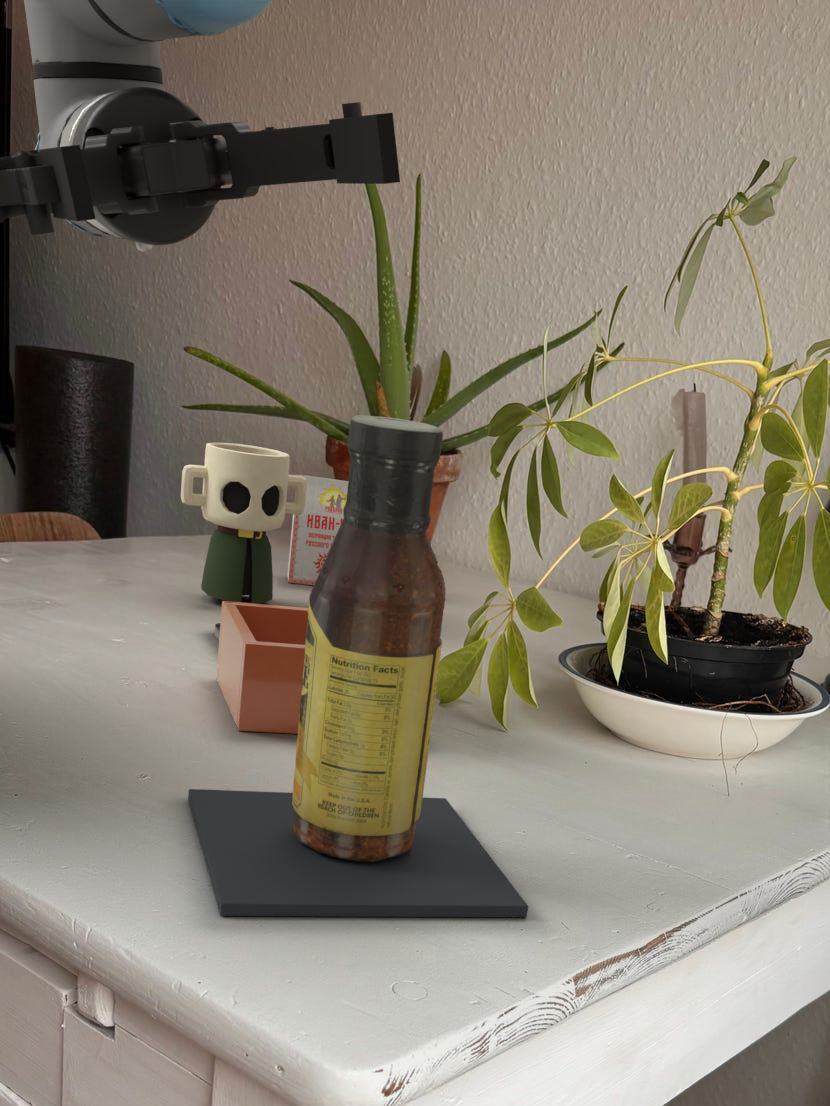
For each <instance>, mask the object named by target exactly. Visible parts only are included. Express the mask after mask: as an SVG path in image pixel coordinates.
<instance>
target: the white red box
mask: <svg viewBox="0 0 830 1106" xmlns="http://www.w3.org/2000/svg"><path fill="white" fill-rule="evenodd" d="M298 475H299V476H303V477H305V478H306V481H307V490H306V500H305V508H304V511H303V513H301V514H298V515H297V514H292V521H291V532H290V542H289V543H290V544H289V554H288V565H287V583H289V584H297V585H306V586H313V587H314V584H315V582H316V580H317V578H318V575H319V573H320V571H321V568H322V566H323V564H324V562H325V559H326V557H327V555H328V552H329V550H330V548H331V546H332V543H333V541H334V539H335V537H336V534H337V532H338V530H339V528H340V525H341V523H342V521H343V519H344V514H343V510H344V507H345V505H346V501H347V492H348V480H342V479H341V480H340V479H335V478H326V477H320V476H312V475H304V474H298Z"/></svg>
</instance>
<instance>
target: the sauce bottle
mask: <svg viewBox="0 0 830 1106" xmlns="http://www.w3.org/2000/svg"><path fill="white" fill-rule="evenodd" d="M443 438H444V431H443V429H442V428H440V427H438V426H435V425H433V424H429V423H426V422H420V421H414V420H409V419H402V418H399V417H398V418H397V417H391V416H389V417H388V416H387V417H386V416H375V415H366V414H365V415H363V414H361V415H354V416H352V417H351V419H350V423H349V430H348V434H347V444H346V445H347V450H348V455H349V456H350V457H349V460H350V461H349V469H348V470H349V471H348V480H347V481H348V492H347V501H346V505H345V507H344V510H343V514H344V519H343V521H342V523H341V525H340V528H339V530H338V532H337V534H336V537H335V539H334V541H333V543H332V546H331V548H330V550H329V552H328V555H327V557H326V559H325V562H324V564H323V566H322V568H321V571H320V573H319V575H318V578H317V580H316V582H315V584H314V586H313V587H312V589H311V591H310V593H309V597H308V607H307V608H308V617H307V633H306V643H305V657H304V670H303V681H302V692H301V695H302V696H301V701H300V710H299V727H298V734H297V739H296V749H295V762H294V775H293V787H292V793H293V798H292V804H293V807H294V823H293V824H294V832H295V833H296V835H297V839H298V840H299V841H300V842H301V843H302V844H305V845H307V846H309V847H310V848H312V849H314V850H316V851H317V852H320V853H323V854H327V855H329V856H332V857H338V858H340V859H347V860H351V861H356V862H376V861H380V860H384V859H388V858H391V857H396V856H400V855H402V854H404V853H406V852H408V851H409V849H410V848H411V847H412V845H413V841H414V834H415V828H416V826H415V822H416V821H417V820H418V819H419V817H420V812H421V806H422V799H423V798H424V789H425V782H426V775H427V769H428V759H429V750H430V743H431V734H432V728H433V727H432V726H433V719H434V710H435V702H436V694H437V687H438V679H439V671H440V663H441V662H440V661H441V655H442V646H443V640H442V638H441V634H442V625H443V621H444V620H443V618H444V610H445V603H446V593H447V592H446V585H445V584H446V583H445V577H444V575H443V571H442V569H441V568H440V567H439V565H438V563H439V561H438V560H437V557H436V555H435V554H434V553H435V552H434V550H433V547H432V546H431V542H430V540H429V539H428V535H427V530H428V529H429V527H430V524H431V521H432V518H431V515H430V511H431V506H432V505H431V503H432V495H433V494H432V492H433V487H434V486H433V485H434V478H435V470H436V467H437V466H438V464H439V462H440V457H441V452H442V447H443Z"/></svg>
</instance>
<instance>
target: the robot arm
mask: <svg viewBox="0 0 830 1106" xmlns="http://www.w3.org/2000/svg"><path fill="white" fill-rule="evenodd" d="M272 1H273V0H23V3H24V10H25V18H26V26H27V32H28V40H29V47H30V55H31V62H32V73H33V89H34V96H35V103H36V104H35V105H36V112H37V118H38V119H37V120H38V129H39V132H38V134H37V143H36V146H35V147H34V149H33V150H20V151H17V153H14V154H12V155H9V156H8V155H7V156H0V223H4V221H5V220H6V219H9V218H14V217H18V216H25V221H26V225H27V229H28V233H29V235H30V236H33V235H43V234H51V233H55V229H54V225H53V219H52V215H51V214H53V218H54V219H61V220H65V221H66V222H67V223H69V224H70V225H72V226H74V227H75V228H77V229H78V230H80V231H81V232H83V233H84V232H87V233H89V234H90V235H92V236H94V237H104V238H113V239H120V240H121V239H122V240H127V241H131V242H134V243H135V247H136V249H137V250H138V251H139V252H142V253H147V252H150V251H151V250H153V248H154V247H153V246H168V245H174V244H177V243H180V242H181V241H182V242H183V241H185V240H187V239H188V238H190V237H191V236H193V235H194V234H196V233H197V232H198V231H199V230H200V229H201V228H203V226H204V225H205V224H206V222H208V220H209V218H210V216H211V215H212V214H213V211H214V210H215V208H216V205H217V204H218V203H219V202H220V201H227V200H239V199H244V198H245V199H246V198H252V197H255V196H257V194H258V193H259V190H260V187H262V186H263V187H264V186H275V185H286V184H299V183H310V182H321V181H331V180H332V181H333V180H336V184H346V185H347V184H353V185H355V184H357V185H358V184H361V185H387V184H395V183H396V184H397V183H401V177H400V169H399V158H398V148H397V141H396V132H395V130H396V129H395V120H394V113H393V112H385V113H375V114H368V115H363V112H362V103H361V101H360V102H359V101H355V102H348V103H341V107H342V114H343V117H339V118H332V119H331V118H330V119H328V122H329V123H321V124H320V123H319V124H311V125H303V126H302V125H301V126H293V127H292V126H291V127H283V128H276V127H275V126H266V127H264V129H260V130H255V131H254V130H252V129H251V128H250V126H249V125H248V123H246V122H245V121H240V120H239V121H231V122H221V123H220V122H219V123H210V124H207V123H206V122H204V120H203V118H202V117H201V116H200V115H199V114H198V112H197V111H195V109H193V108H192V107H191V106H190V105H189V104H188V103H186V102H185V101H184V100H183V99H181V98H180V97H178V96H176V95H174V94H173V93H170V92H168V91H167V90H164V86H163V85H164V81H163V70H162V59H161V44H160V43H161V42H162V41H165V40H173V39H180V38H189V37H196V36H198V37H212V36H218V35H221V34H224V32H226V31H228V30H230V29H233V28H235V27H238V26H240V25H242V24H245V23H247V22H250V21H251V20H253V19H255V18H257V17H258V16H259V15H260V14H261V13H263V12H264V11H265V10H266V9H267V8H268V6H270V4H271V3H272ZM216 136H218V137H216ZM228 185H231V186H229V187H223V186H228Z"/></svg>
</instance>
